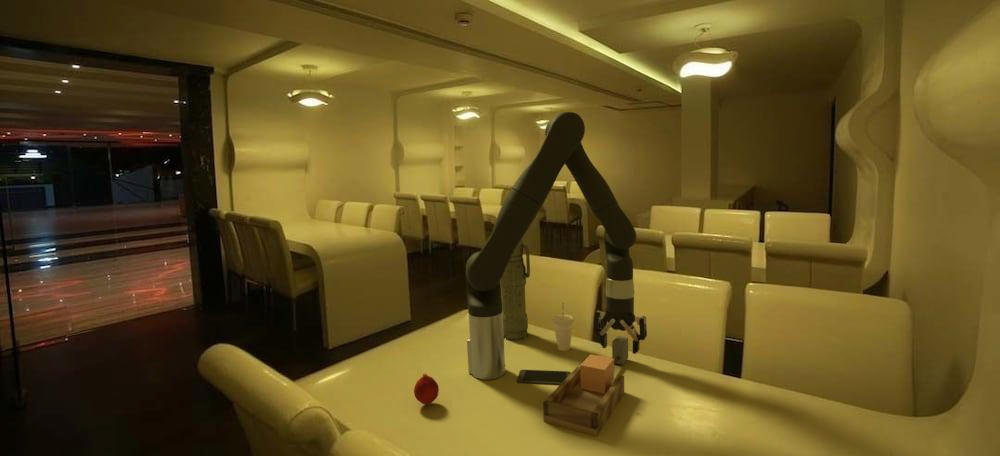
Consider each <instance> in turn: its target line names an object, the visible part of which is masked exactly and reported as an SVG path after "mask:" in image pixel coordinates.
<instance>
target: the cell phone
mask: <svg viewBox="0 0 1000 456" xmlns="http://www.w3.org/2000/svg"><path fill="white" fill-rule="evenodd" d="M571 373H572V372H571V371H569V370H566V371H565V370H546V369H545V370H543V369H542V370H541V369H521V370H520V371H519V372H518V375H517V379H516V383H517V384H525V385H526V384H528V385H530V384H532V385H548V386H549V385H551V386H553V385H554V386H559V385H560V384H561V383H562V382H563V381H564V380H565V379H566V378H567V377H568V376H569V375H570V374H571Z"/></svg>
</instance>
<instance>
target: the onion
mask: <svg viewBox="0 0 1000 456" xmlns="http://www.w3.org/2000/svg"><path fill="white" fill-rule="evenodd" d="M439 391H440V388H439V385H438V382H437V381H436V380H435V379H434V378H433V376H430V375H428V374H427V372H423V373H422V376H421V377H420V378H419V379H417V380H416V383H415V385H414V388H413V394H414V397H415V399H416V400H417V401H418V402H419V403H421V404H423V405H424V406H429V405H430V404H432V403H433V402H434V401H435V400H436V399H437V398H438V395H439ZM428 404H429V405H428Z"/></svg>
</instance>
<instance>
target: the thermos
mask: <svg viewBox="0 0 1000 456" xmlns="http://www.w3.org/2000/svg"><path fill="white" fill-rule="evenodd" d="M523 241H524V240H523V238H522V239H521V241H520V242H519V243H518V245H517V246H516V248H515V250H514V252H513V254H512V256H511V258H510V260H509V262H508V264H507V266H506V269H505V271H504V273H503V276H502V278H501V280H500V289H501V298H502V309H503V331H504V338H506V339H505V340H507V339H512V340H511V341H517V340H516V339H521V340H524V339H526V338H527V337H528V336H529V334H528V329H529V323H528V322H529V318H528V314H527V309H526V285H527V278H530V277H531V275H530V274H531V266H530V265H531V263H530V249H529V247H528V246H527V245H525V244H524V243H523ZM524 250H525V258H526V259H525V260H526V261H525V262H524ZM525 265H526V266H525ZM527 335H528V336H527ZM525 337H526V338H525ZM523 338H524V339H523Z"/></svg>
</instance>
